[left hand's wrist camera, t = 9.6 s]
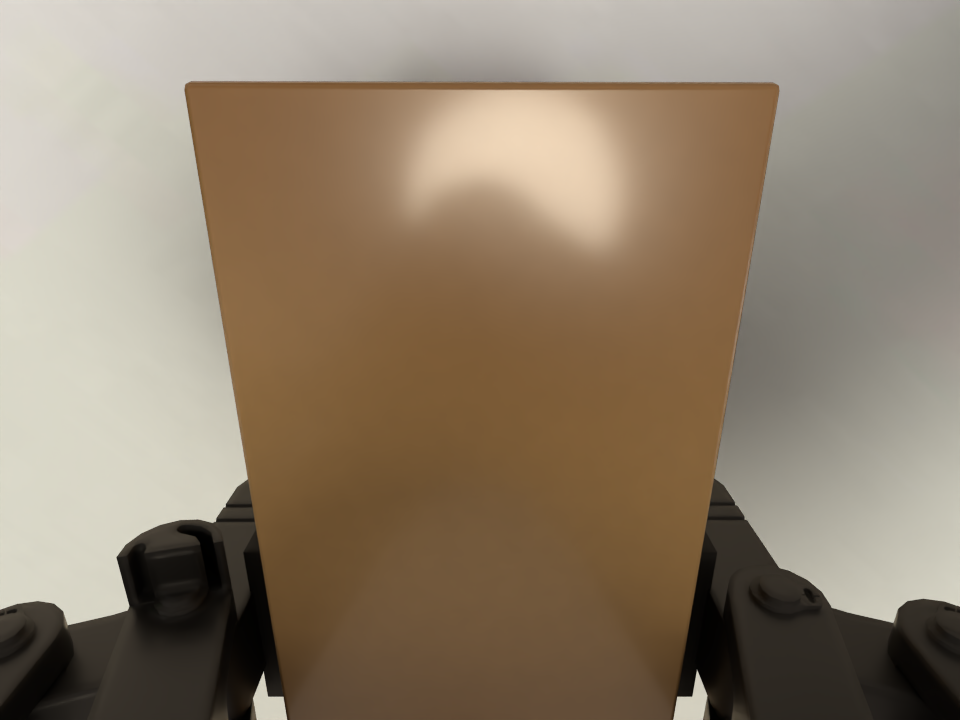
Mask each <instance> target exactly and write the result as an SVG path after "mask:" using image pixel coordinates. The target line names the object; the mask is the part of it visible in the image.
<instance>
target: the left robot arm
mask: <svg viewBox="0 0 960 720" xmlns="http://www.w3.org/2000/svg"><path fill="white" fill-rule="evenodd" d="M117 561H118V565H119V568H120V572H121V576H122V580H123V583H124V587H125V591H126V594H127V598H128V602H129V606H130V607H129V609H128V611H125V612H122V613H118V614H115V615H111V616H107V617H103V618H98V619H94V620H89V621H85V622H81V623H76V624H72V625H67V622H66V619H65V616H64V613H63V611H62V610H61V609H60V608H58V607H57V606H56V605H55V604H52V603H46V602H39V601H36V602H29V603H22V604H16V605H13V606H10V607H7V608H4V609H1V610H0V720H256V713H255V707H254V702H253V697H254V694H255V692H256V689H257V686H258V684H259V681H260V679H261V676H262V674H263V671H264V675H265V681H266V687H267V692H268V697H284V696H283V690H282V684H281V678H280V671H279V665H278V659H277V653H276V647H275V641H274V635H273V629H272V622H271V616H270V610H269V604H268V598H267V592H266V586H265V580H264V573H263V567H262V561H261V555H260V549H259V543H258V537H257V531H256V524H255V518H254V512H253V506H252V500H251V494H250V488H249V482H248V480H246V481H245V482H244V483H242V484H241V485H240V486H238V487H237V488H236V490H235V491H234V493H233V494H232V496H231V497H230V499H229V500H228V502H227V503H226V508H223V509H222V511H221V512H220V514H219V515H218V517H217V518H216V522H214V523H210V522H206V521H202V520H179V521H175V522H171V523H167V524H163V525H160V526H157V527H155V528H153V529H151V530H148V531H146V532H144V533H142V534H140V535H139V536H137V537H136V538H135V539H133V540H132V541H131V542H129V543H128V544H126V545H125V547H124V548H123V549H122V551H121V552H120V553H119V555H118V556H117ZM697 670H698V672H699V675H700V677H701V680H702V682H703V685H704V688H705V690H706V693H707V695H708V696H707V702H706V707H705V712H704V718H703V720H960V607H959V606H955V605H953V604H950V603H947V602H943V601H935V600H928V599H919V600H913V601H907V602H906V603H905V604H904V605H902V606H901V607H900V608H899V609H898V611H897V614H896V618H895V621H894V623H891V622H886V621H882V620H877V619H873V618H869V617H864V616H860V615H855V614H851V613H847V612H844V611H840V610H837V609H834V608H831V606H830V604H829V602H828V601H827V599H826V598H825V596H824V595H823V593H822V592H821V591H820V590H819V589H817V588H816V587H815V586H814V585H813V584H811V583H810V582H809V581H808V580H806V579H804V578H802V577H800V576H798V575H796V574H794V573H792V572H790V571H788V570H784V569H780V568H779V567H778V566H777V564H776V563H775V561H774V560H773V558H772V557H771V555H770V554H769V552H768V551H767V549H766V548H765V546H764V545H763V543H762V542H761V540H760V539H759V537H758V536H757V534H756V533H755V531H754V530H753V528H752V527H751V526H750V524H749V523H748V521H747V520H745V519H744V515H743V514H742V512H741V511H740V509H739V508H738V506H735V502H734V500H733V499H732V497H731V496H730V494H729V493H728V491H727V490H726V488H725V487H724V485H722V484H721V483H720V482H718V481H717V480H715V479H714V481H713V487H712V493H711V499H710V505H709V511H708V516H707V522H706V528H705V534H704V540H703V546H702V552H701V558H700V564H699V570H698V576H697V582H696V588H695V593H694V599H693V605H692V611H691V617H690V623H689V629H688V635H687V641H686V647H685V653H684V659H683V665H682V670H681V676H680V682H679V688H678V694H677V697H692V695H693V689H694V683H695V678H696V672H697Z"/></svg>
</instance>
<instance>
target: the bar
mask: <svg viewBox="0 0 960 720" xmlns="http://www.w3.org/2000/svg"><path fill="white" fill-rule="evenodd" d="M185 96H186V102H187V108H188V114H189V120H190V127H191V133H192V139H193V145H194V151H195V157H196V163H197V169H198V176H199V182H200V188H201V194H202V200H203V206H204V212H205V218H206V224H207V231H208V237H209V243H210V249H211V255H212V261H213V267H214V273H215V280H216V286H217V292H218V298H219V304H220V310H221V316H222V322H223V329H224V335H225V341H226V347H227V353H228V359H229V365H230V371H231V378H232V384H233V390H234V396H235V402H236V408H237V414H238V420H239V427H240V433H241V439H242V445H243V451H244V457H245V463H246V469H247V475H248V482H249V488H250V494H251V500H252V506H253V512H254V518H255V524H256V531H257V537H258V543H259V549H260V555H261V561H262V567H263V573H264V580H265V586H266V592H267V598H268V604H269V610H270V616H271V622H272V629H273V635H274V641H275V647H276V653H277V659H278V665H279V671H280V678H281V684H282V690H283V696H284V702H285V708H286V714H287V720H673V718H674V712H675V706H676V700H677V694H678V688H679V682H680V676H681V670H682V665H683V659H684V653H685V647H686V641H687V635H688V629H689V623H690V617H691V611H692V605H693V599H694V593H695V588H696V582H697V576H698V570H699V564H700V558H701V552H702V546H703V540H704V534H705V528H706V522H707V516H708V511H709V505H710V499H711V493H712V487H713V481H714V475H715V469H716V463H717V457H718V451H719V445H720V439H721V434H722V428H723V422H724V416H725V410H726V404H727V398H728V392H729V386H730V380H731V374H732V368H733V362H734V357H735V351H736V345H737V339H738V333H739V327H740V321H741V315H742V309H743V303H744V297H745V291H746V285H747V280H748V274H749V268H750V262H751V256H752V250H753V244H754V238H755V232H756V226H757V220H758V214H759V208H760V203H761V197H762V191H763V185H764V179H765V173H766V167H767V161H768V155H769V149H770V143H771V137H772V131H773V126H774V120H775V114H776V108H777V102H778V96H779V86H778V85H777V84H775V83H773V82H310V81H191V82H189V83H187V84H185Z"/></svg>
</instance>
